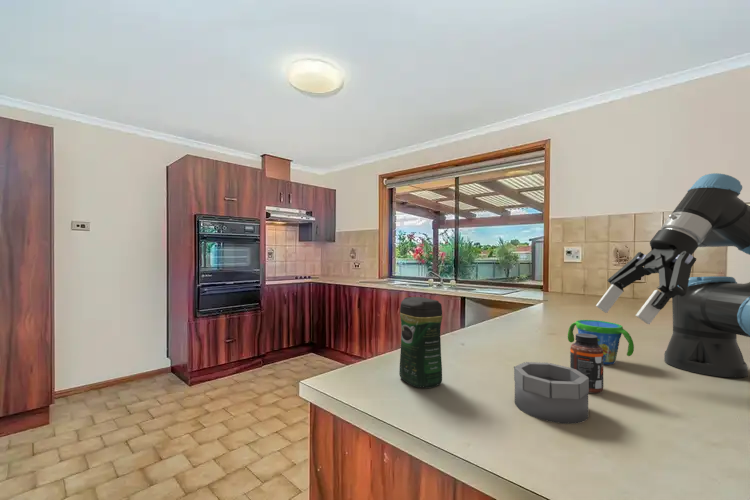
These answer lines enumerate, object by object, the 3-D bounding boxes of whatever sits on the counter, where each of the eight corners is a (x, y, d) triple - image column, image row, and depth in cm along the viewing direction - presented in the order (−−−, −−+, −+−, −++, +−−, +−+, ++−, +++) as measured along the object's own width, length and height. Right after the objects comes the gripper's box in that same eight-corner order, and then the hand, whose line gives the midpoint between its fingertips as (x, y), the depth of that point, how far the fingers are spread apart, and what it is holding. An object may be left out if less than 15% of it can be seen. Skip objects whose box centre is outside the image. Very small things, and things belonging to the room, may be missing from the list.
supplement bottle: (609, 395, 67) (609, 339, 68) (576, 392, 68) (576, 337, 69) (595, 384, 73) (595, 332, 73) (566, 382, 74) (566, 331, 75)
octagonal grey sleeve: (566, 395, 67) (566, 362, 67) (603, 425, 55) (603, 385, 55) (505, 393, 68) (506, 361, 68) (529, 422, 56) (529, 383, 56)
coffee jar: (448, 385, 72) (449, 299, 72) (418, 392, 68) (418, 301, 68) (422, 371, 80) (422, 294, 81) (393, 376, 77) (394, 295, 77)
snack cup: (643, 367, 85) (643, 327, 85) (616, 373, 81) (616, 330, 81) (583, 351, 99) (583, 317, 99) (558, 355, 95) (558, 319, 95)
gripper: (625, 231, 86) (575, 297, 87) (718, 221, 61) (647, 313, 62) (650, 248, 86) (600, 314, 86) (753, 245, 61) (682, 338, 61)
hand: (619, 314), depth 74 cm, fingers open, 13 cm apart
